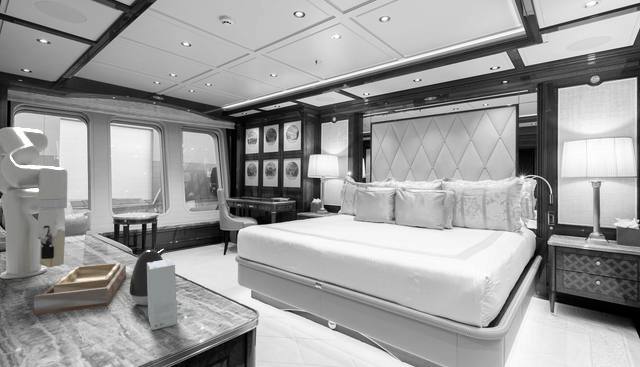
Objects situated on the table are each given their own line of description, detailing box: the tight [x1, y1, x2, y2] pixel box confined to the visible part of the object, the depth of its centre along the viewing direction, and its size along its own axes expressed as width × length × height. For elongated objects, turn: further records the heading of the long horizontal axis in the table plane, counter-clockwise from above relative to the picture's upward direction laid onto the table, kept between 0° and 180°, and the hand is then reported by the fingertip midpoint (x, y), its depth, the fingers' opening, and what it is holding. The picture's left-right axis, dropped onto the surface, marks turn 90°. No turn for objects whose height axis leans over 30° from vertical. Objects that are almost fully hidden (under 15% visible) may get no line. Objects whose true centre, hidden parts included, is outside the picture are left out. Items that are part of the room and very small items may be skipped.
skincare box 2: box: [147, 258, 178, 331], centre depth 78 cm, size 8×6×15 cm
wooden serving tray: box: [33, 264, 127, 316], centre depth 98 cm, size 29×16×5 cm, turn 23°
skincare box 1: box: [40, 229, 66, 268], centre depth 107 cm, size 6×4×12 cm
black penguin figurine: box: [129, 248, 166, 307], centre depth 91 cm, size 10×10×15 cm
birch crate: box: [53, 262, 121, 293], centre depth 102 cm, size 20×13×4 cm, turn 23°
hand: (52, 254), depth 107 cm, fingers closed on skincare box 1, 7 cm apart
